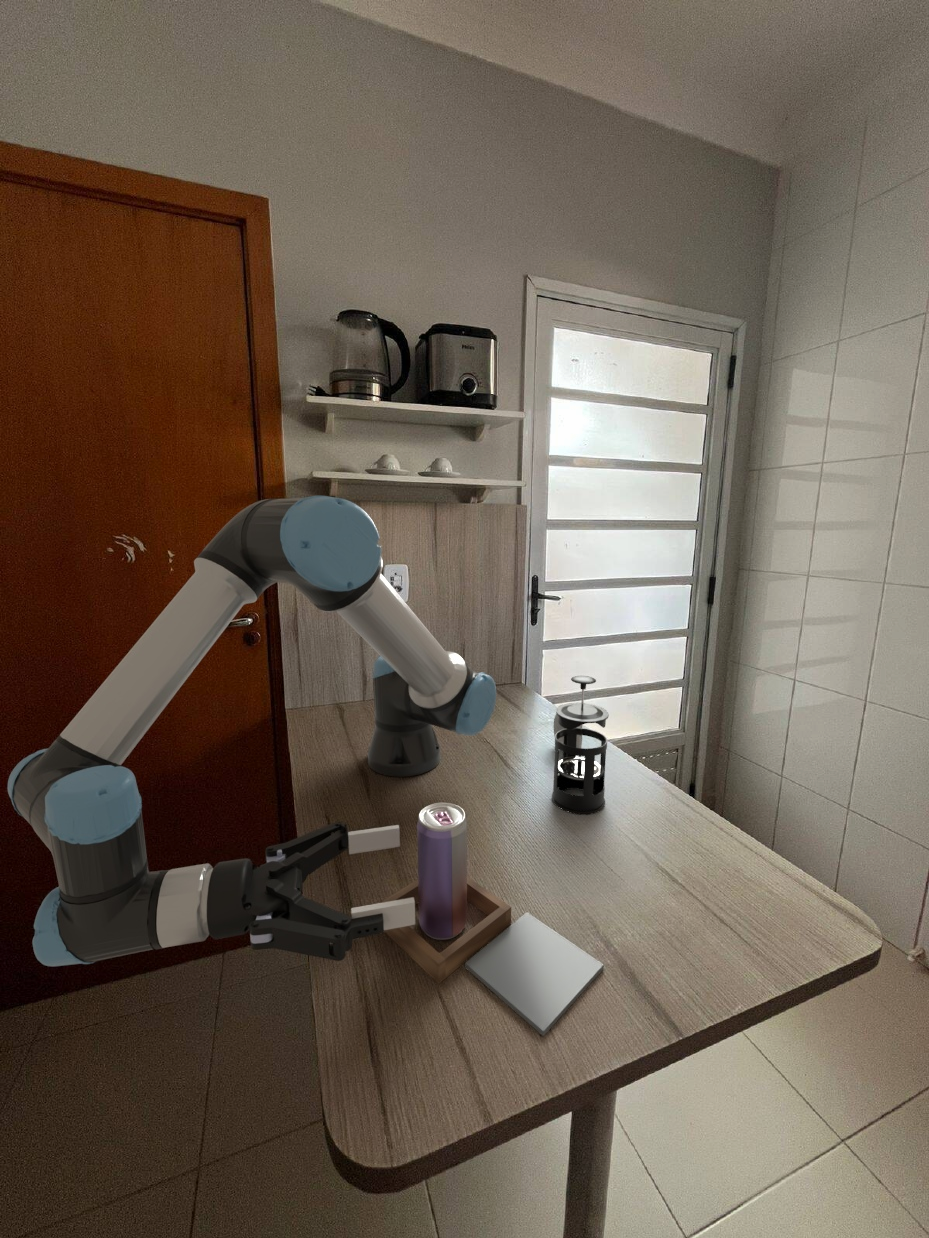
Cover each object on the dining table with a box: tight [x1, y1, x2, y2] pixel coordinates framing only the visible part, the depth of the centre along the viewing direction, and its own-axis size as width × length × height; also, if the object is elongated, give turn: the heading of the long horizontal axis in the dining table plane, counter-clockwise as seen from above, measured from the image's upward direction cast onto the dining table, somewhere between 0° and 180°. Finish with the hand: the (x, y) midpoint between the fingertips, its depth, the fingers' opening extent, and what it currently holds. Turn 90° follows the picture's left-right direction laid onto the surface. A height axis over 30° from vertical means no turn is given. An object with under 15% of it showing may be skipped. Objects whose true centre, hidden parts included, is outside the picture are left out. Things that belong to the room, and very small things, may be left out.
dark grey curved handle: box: [553, 712, 580, 753], centre depth 110 cm, size 10×4×10 cm, turn 13°
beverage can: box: [416, 802, 468, 941], centre depth 63 cm, size 6×6×15 cm
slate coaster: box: [464, 911, 604, 1037], centre depth 58 cm, size 11×11×1 cm
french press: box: [551, 675, 609, 815], centre depth 91 cm, size 12×9×23 cm
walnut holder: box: [379, 875, 512, 984], centre depth 64 cm, size 12×12×2 cm
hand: (406, 869), depth 61 cm, fingers open, 13 cm apart
